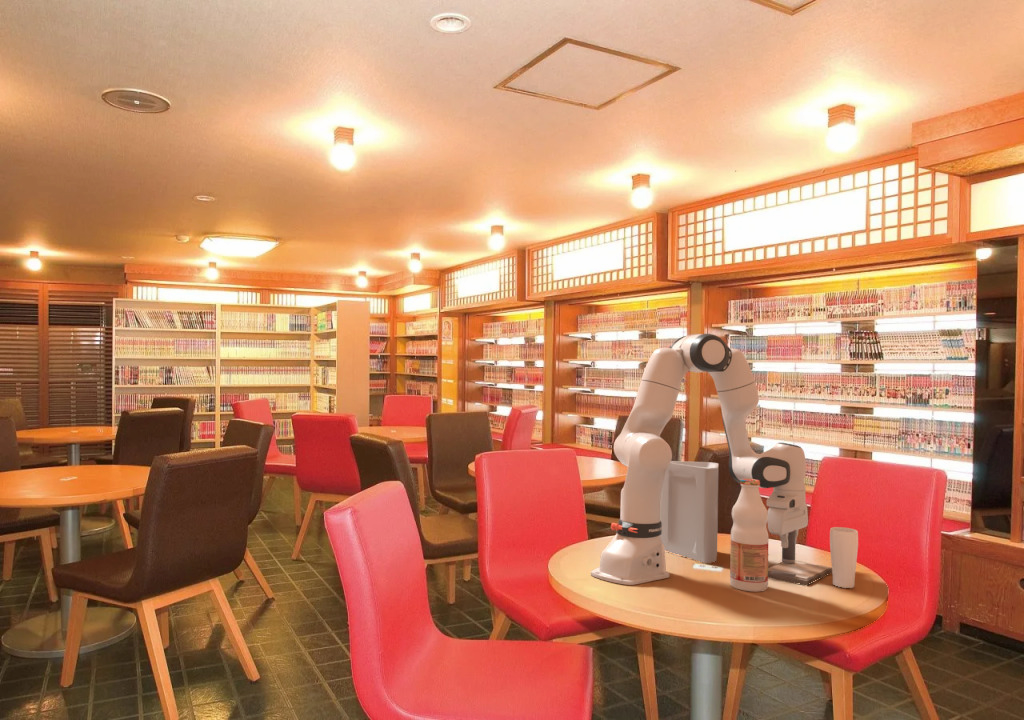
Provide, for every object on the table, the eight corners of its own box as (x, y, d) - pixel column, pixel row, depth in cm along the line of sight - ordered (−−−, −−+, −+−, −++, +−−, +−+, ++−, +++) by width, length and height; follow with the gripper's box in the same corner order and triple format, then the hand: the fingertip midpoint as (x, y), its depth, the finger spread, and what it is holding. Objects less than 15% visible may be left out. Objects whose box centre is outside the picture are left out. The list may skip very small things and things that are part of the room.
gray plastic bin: (738, 557, 213) (739, 466, 214) (705, 563, 205) (707, 468, 206) (690, 544, 229) (692, 459, 230) (658, 550, 221) (660, 461, 222)
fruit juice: (722, 585, 184) (723, 478, 185) (744, 580, 189) (746, 476, 190) (752, 594, 176) (754, 483, 177) (775, 589, 181) (776, 481, 182)
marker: (792, 564, 200) (792, 522, 201) (779, 561, 203) (780, 520, 203) (797, 562, 203) (797, 520, 203) (784, 559, 206) (785, 518, 206)
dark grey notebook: (806, 585, 185) (806, 577, 185) (759, 575, 194) (759, 567, 194) (833, 572, 199) (833, 564, 199) (788, 563, 208) (788, 555, 208)
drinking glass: (855, 584, 187) (856, 528, 188) (859, 591, 181) (859, 533, 181) (828, 581, 190) (828, 526, 190) (830, 588, 183) (831, 530, 184)
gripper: (792, 493, 213) (792, 539, 213) (763, 500, 199) (763, 549, 198) (813, 496, 209) (813, 542, 208) (785, 503, 194) (785, 553, 194)
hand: (788, 546), depth 203 cm, fingers closed on marker, 4 cm apart
